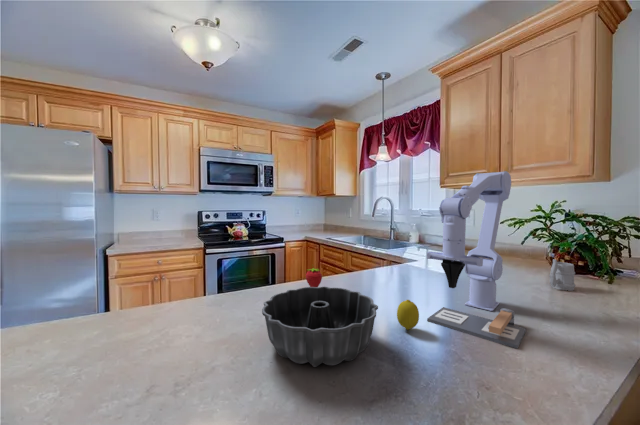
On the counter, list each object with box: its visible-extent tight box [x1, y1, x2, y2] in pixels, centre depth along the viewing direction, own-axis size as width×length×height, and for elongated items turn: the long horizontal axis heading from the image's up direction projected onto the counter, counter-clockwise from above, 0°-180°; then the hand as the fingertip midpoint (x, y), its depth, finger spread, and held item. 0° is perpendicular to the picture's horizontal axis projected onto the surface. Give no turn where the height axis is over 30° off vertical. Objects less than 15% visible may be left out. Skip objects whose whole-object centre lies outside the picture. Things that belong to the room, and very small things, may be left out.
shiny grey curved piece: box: [508, 317, 515, 326], centre depth 78 cm, size 3×3×2 cm
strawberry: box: [305, 264, 323, 287], centre depth 105 cm, size 6×8×10 cm
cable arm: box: [489, 307, 515, 335], centre depth 73 cm, size 16×3×2 cm, turn 136°
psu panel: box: [426, 307, 527, 350], centre depth 76 cm, size 12×21×1 cm, turn 46°
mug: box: [549, 258, 576, 292], centre depth 111 cm, size 8×12×12 cm, turn 114°
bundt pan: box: [261, 285, 379, 368], centre depth 65 cm, size 26×26×10 cm
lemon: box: [396, 299, 420, 331], centre depth 73 cm, size 6×6×8 cm
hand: (452, 287), depth 80 cm, fingers closed
